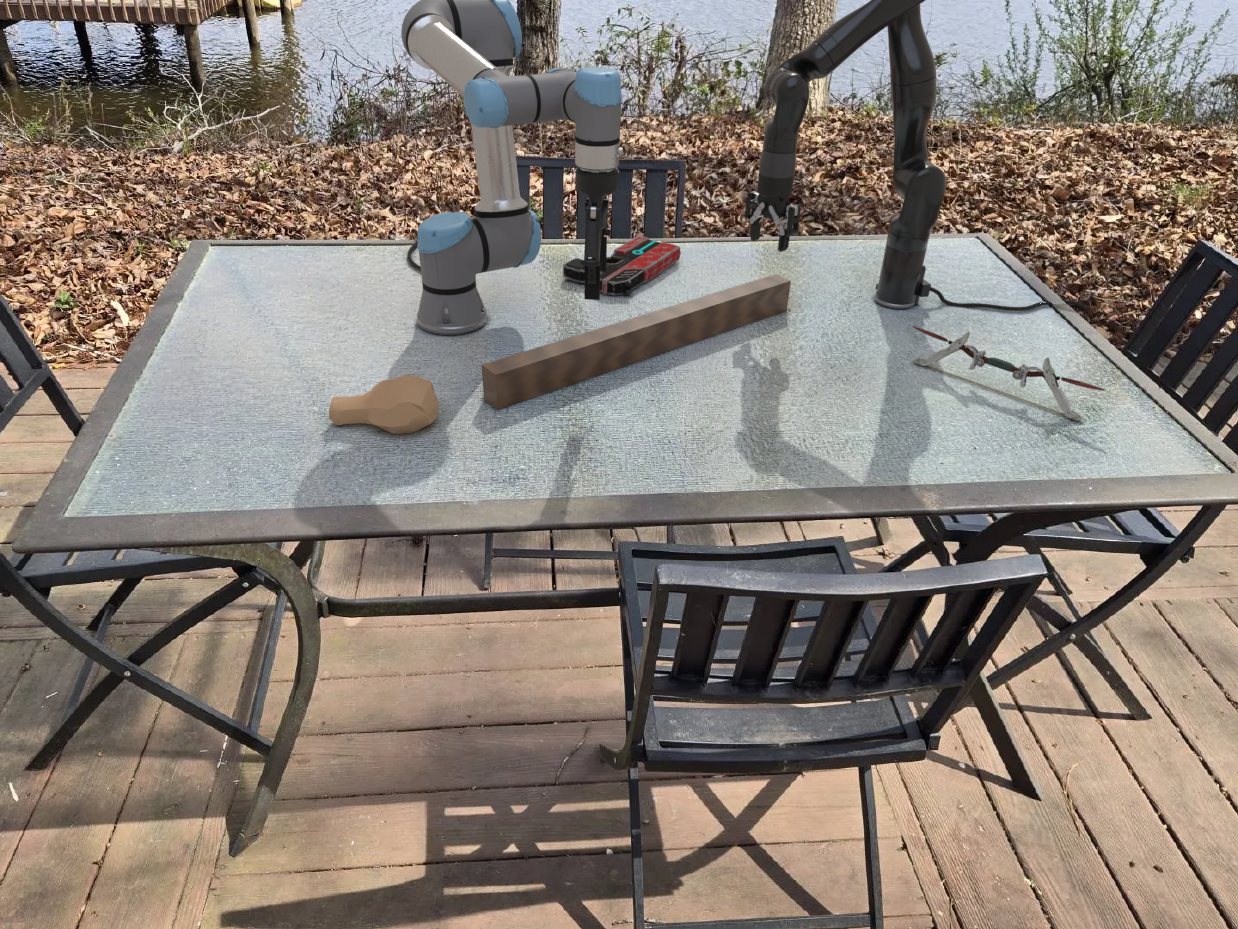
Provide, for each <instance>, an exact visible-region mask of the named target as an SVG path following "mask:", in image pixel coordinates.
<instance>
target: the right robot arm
mask: <svg viewBox="0 0 1238 929" xmlns="http://www.w3.org/2000/svg"><path fill="white" fill-rule="evenodd" d="M924 2H926V0H869V1H867V3H865V4H863V5H862V6H860V7H858V8H857V9H855V10H853V11H852V12H849V13H848V14H846V15H844V16H843V17H841V18H839V19H838V20H836V21H835V22H834V23H833V24H831V25H830V26H829V27H828V28H826V29H825V30H824V31H822V32H821V33H820V34H819V35H818V36H817V37H816V38H815V39H814V40H813V41H812V42H811V43H810V44H809V45H808V46H807V47H805V48H804V49H803V50H801V51H799V52H797V53H795V54H794V55H792V56H791V57H789V58H788V59H786V60H784V61H783V62H781V63H780V64H779V65H778V66H776V67H775V68H774V69H773V70H772V71H771V72H770V73H769V74H768V76H767V77H766V80H765V82H764V85H763V92H764V96H765V98H766V100H768V101H769V103H771V104H773V105H775V110H774V115H773V118H772V119H769V120H768V121H767V123H766V124H765V127H764V132H763V133H764V134H763V143H762V150H761V151H762V152H761V156H760V159H759V160H760V161H759V167H758V168H759V170H758V179H757V188H756V190H754V191H749V192H747V194H746V195H747V196H746V203H745V209H744V214H743V215H744V218H745V220H746V219H747V220H748V221H749V223H750V230H749V237H750V241H753V242H755V241H758V240H760V237H761V229H762V223H761V221H763V219H768V220H770V221H772V222H774V225H775V227H777V228H778V231H779V237H778V242H777V251H778V252H780V253H781V252H785V251H787V250H788V249H789V245H790V238H791V235H794V234H797V233H799V228H800V219H801V218H800V217H801V206H800V204H797V205H793V204H790V198H791V196H792V194H793V189H794V182H795V175H796V174H795V173H796V166H797V149H798V140H799V130H800V128H801V125H802V123H803V121H804V118H805V114H806V111H807V108H808V105H809V101H810V84H809V83H811V82H812V81H813V80H819V79H820V80H821V79H824V78H826V77H828V76H829V75H830V74H832V73H833V72H834V71H835V70H836V69H837V68H839V67H840V66H841V65H842V64H843V63H844V62H845V61H846V60H848V58H849V57H851V56H852V55H853V54H854V53H855V52H856V51H857V50H859V49H860V48H861V47H863V45H865V44H866V43H867V42H868V41H870V40H871V39H872V38H873V37H875V36H876V35H877V34H878V33H880V32H881V31H883V30H884V29H885V28H887V40H888V41H887V42H888V56H889V59H888V60H889V68H890V69H889V72H890V73H889V82H890V99H891V109H892V126H893V127H892V128H893V140H894V141H893V142H894V143H893V144H894V145H893V164H892V166H893V168H892V184H893V189H894V190H895V192H896V193H897V195H898V196H899V197H901V198H902V199H903V202H902V207H901V210H900V213H899V214H898V215H895V216H893V217H892V218H891V220H890V223H889V226H888V227H889V228H888V232H887V239H886V243H885V248H884V253H883V258H882V262H881V267H880V273H879V277H878V283H876V285H875V290H876V291H875V294H874V301H875V302H876V303H877V304H878V305H880V306H882V307H885V308H889V309H895V310H905V309H910V308H913V307H915V306H917V305H918V304H919V300H920V298H928V297H929V296H930V292H932V293H934V294H935V295H936V296H937V297H938V299H939V301H940V302H941V303H942V304H945V305H946V306H951V307H958V308H959V307H960V308H984V309H993V310H999V311H1000V310H1001V311H1010V312H1025V311H1030V310H1033V309H1036V308H1039V307H1041V306H1054V305H1053V304H1052V303H1051V302H1046V303H1043V302H1044V301H1045V300H1043V302H1042V301H1038V302H1039V303H1038V302H1035V303H1033V304H1030V305H1027V306H1006V305H998V304H991V303H990V304H989V303H983V302H981V303H980V302H968V303H967V302H965V303H961V302H953V301H950V300H948V299H946V298H945V296H944V295H943V293H942V292H941V291H940V290H939V289H937V288H935V287H932V284H931V283H930V282H928V281H927V280H926V279H924V278H925V274H926V269H927V267H926V266H925V265H924V262H925V258H926V253H927V249H928V245H929V239H930V236H931V231H932V229H933V228H934V226H935V224H936V223H937V221H938V218H939V214H940V211H941V207H942V204H943V201H944V197H945V192H946V186H947V178H946V175H945V172H944V171H943V170H942V168H941V167H938V166H937V165H936V164H934V163H932V162H930V160H929V155H928V144H927V133H928V127H929V123H930V121H931V118H932V115H933V112H934V109H935V106H936V102H937V94H938V91H937V90H938V86H937V85H938V84H937V66H936V61H935V57H934V53H933V51H932V48H931V46H930V42H929V41H928V38H927V36H926V33H925V30H924V27H923V23H922V14H921V13H922V12H921V4H923V3H924ZM1062 301H1064V302H1065V303H1066V304H1065V305H1072V306H1075V307H1078V308H1080V309H1081V311H1083V312H1089V310H1088V307H1086V306H1085V305H1084V304H1083V303H1081V302H1079V301H1076V300H1071V299H1070V300H1069V299H1068V300H1067V299H1062ZM1041 302H1042V303H1041ZM1040 303H1041V304H1040Z"/></svg>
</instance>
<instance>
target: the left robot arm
mask: <svg viewBox="0 0 1238 929" xmlns="http://www.w3.org/2000/svg"><path fill="white" fill-rule="evenodd" d="M518 16H519V15H518V13H517V11H516V9H515V7H514V6H513V4H512V2H510V0H418V1H417V2H415V4H413V5H412V6H411V7H410V8H409V9H408V11H407V12H406V14H405V15H404V17H403V21H402V25H401V31H400V32H401V34H400V35H401V41H402V45H403V47H404V49H405V52H406V53H407V55H408V56H409V57H410V58H411V59H412V60H413V61H414V62H415V63H416V64H417V66H420V67H422V68H424V69H426V70H432V71H433V72H434V73H436V75H437V76H439V77H440V78H441V79H442V80H443V81H444V82H446V83H447V85H449V86H450V87H451V88H452V89H454V91H456V93H458V94H459V95H460V96H461V97H463V105H464V111H465V114H466V116H467V117H468V120H469V122H470V125H471V126H470V127H471V134H472V141H473V150H474V159H475V167H476V175H477V182H478V190H479V201H478V202H477V204H476V205H475V206H474V215H475V217H474V218H473V217H471V216H470V214H468V213H466V212H463V211H454V212H452V211H446V212H440V213H437V214H434V215H432V216H429V217H427V218H426V219H424V220H423V221H422V222H421V223H420V224H419V226H418V227H417V229H416V228H411V229H410V233H411V234H415V236H416V241H415V243H414V244H413V245H411V246H410V248H409V249H408V251H407V260H408V262H409V263H410V265H411V266H412V267H414V268H415V269H417V270H418V271H420V275H421V276H420V277H421V284H422V292H421V297H420V302H419V305H418V310H417V313H416V318H417V325H418V326H419V328H420V329H421V330H423V331H424V332H427V333H430V334H433V335H440V336H459V335H465V334H469V333H473V332H476V331H477V330H480V329H481V328H483V327H484V326H485V325H486V323H487V320H488V316H487V309H486V306H485V304H484V302H483V299H482V298H481V295H480V293H479V291H478V288H477V278H476V277H477V276H476V275H477V274H482V273H487V272H493V271H499V270H504V269H510V268H514V269H516V268H518V267H521V266H524V265H528V264H529V265H530V264H531V263H532V262H534V261H535V260H536V258H537V256H538V255H539V252H540V249H541V245H542V229H541V224H540V222H539V217H538V215H537V214H536V212H534V211H533V210H531V209H529V204H528V202H527V201H526V200H524V199H523V197H522V196H521V194H520V193H521V192H520V183H519V175H518V165H517V154H516V146H515V135H514V127H513V126H516V125H517V126H518V125H524V124H532V123H533V124H536V123H545V122H553V121H554V122H555V121H564V120H565V121H569V122H571V123H574V124H575V126H574V127H575V128H574V129H575V138H574V164H575V165H576V168H575V172H574V174H575V175H574V177H575V178H574V179H575V183H574V184H575V189H576V191H577V192H579V193H580V194H585V195H587V196H588V197H586V199H585V202H584V207H583V208H584V214H585V216H584V226H585V235H584V251H583V259H582V260H584V261H582V260H581V265H584V266H585V283H584V290H583V291H584V296H583V297H584V298H583V299H584V300H591V301H593V300H594V301H600V300H601V292H600V271H605V272H606V262H607V257H608V252H607V251H608V237H611V231H612V230H611V229H608V228H609V223H608V217H609V216H608V214H609V206H610V200H609V198H608V196H610V195H613V194H615V193H617V192H618V190H619V186H620V170H619V169H618V166H619V165H620V155H622V154H623V153H624V149H623V147H620V144H621V143H620V140H621V139H620V138H621V124H622V123H621V120H622V100H623V94H622V76H621V74H620V72H619V71H618V70H616V69H615V68H611V67H605V66H585V67H582V68H579V69H578V70H577V71H576V72H575V71H574V70H571V69H569V68H560V67H554V68H550V69H548V70H547V71H546V72H544V73H537V74H535V73H534V74H523V75H522V74H521V75H510V73H511V72H512V70H513V69H514V68H515V66H514V59H515V58H516V57H518V56H519V55H520V53H521V51H522V45H523V35H522V34H523V32H522V27H521V23H520V20H519V17H518ZM417 240H418V241H417ZM416 248H417V250H418V258H419V264H420V265H419V264H418V263H416V262H415V261H414V260H413V259H412V253H413V251H414V250H415V249H416ZM591 258H592V259H591Z"/></svg>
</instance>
